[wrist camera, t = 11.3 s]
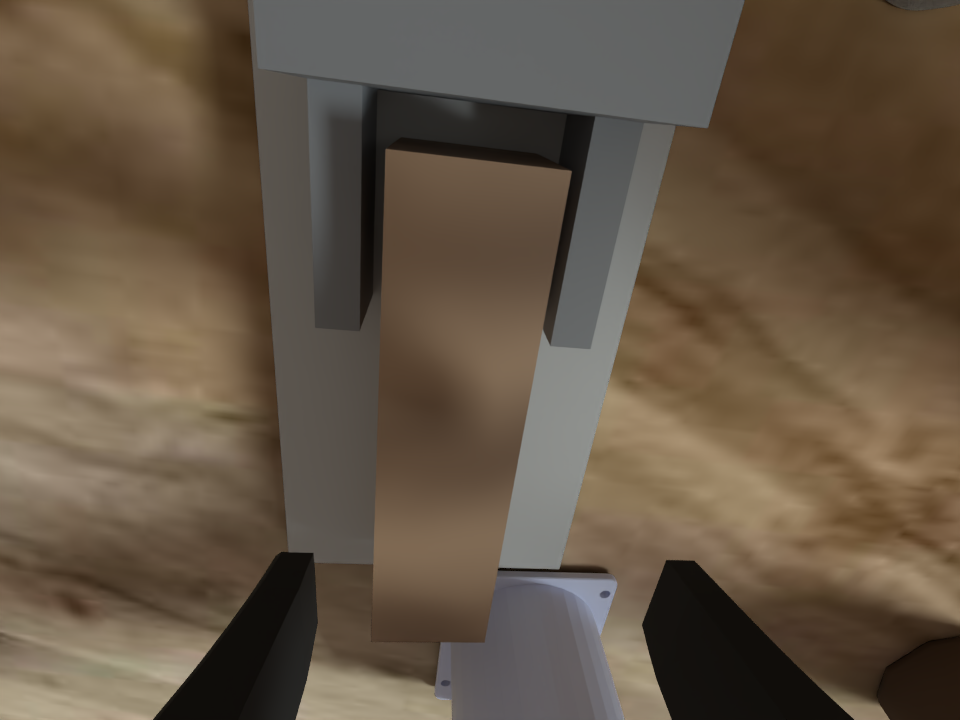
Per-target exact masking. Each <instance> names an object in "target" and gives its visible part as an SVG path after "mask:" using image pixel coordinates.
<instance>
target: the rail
mask: <svg viewBox="0 0 960 720" xmlns="http://www.w3.org/2000/svg"><path fill="white" fill-rule="evenodd" d="M571 173H572V171H571V170H569V169H567V168H565V167H563V166H561V165H559V164H557V163H555V162H553V161H551V160H549V159H547V158H545V157H543V156H541V155H539V154H536V153H528V152H520V151H511V150H503V149H495V148H487V147H478V146H470V145H462V144H454V143H445V142H437V141H429V140H421V139H412V138H404V137H401V138H399V139H398V140H397V141H395V142H394V143H393V144H391V145H390V146H389V147H387V148H386V151H385V185H384V219H383V253H382V287H381V321H380V356H379V390H378V424H377V458H376V492H375V526H374V560H373V594H372V628H371V642H460V643H485V637H486V632H487V626H488V621H489V616H490V610H491V605H492V599H493V594H494V589H495V583H496V578H497V572H498V567H499V562H500V556H501V551H502V545H503V540H504V535H505V529H506V524H507V519H508V513H509V508H510V502H511V497H512V492H513V486H514V481H515V475H516V470H517V465H518V459H519V454H520V448H521V443H522V438H523V432H524V427H525V421H526V416H527V411H528V405H529V400H530V395H531V389H532V384H533V378H534V373H535V368H536V362H537V357H538V351H539V346H540V341H541V335H542V330H543V324H544V319H545V314H546V308H547V303H548V297H549V292H550V287H551V281H552V276H553V271H554V265H555V260H556V254H557V249H558V244H559V238H560V233H561V227H562V222H563V217H564V211H565V206H566V200H567V195H568V190H569V184H570V179H571Z"/></svg>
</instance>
